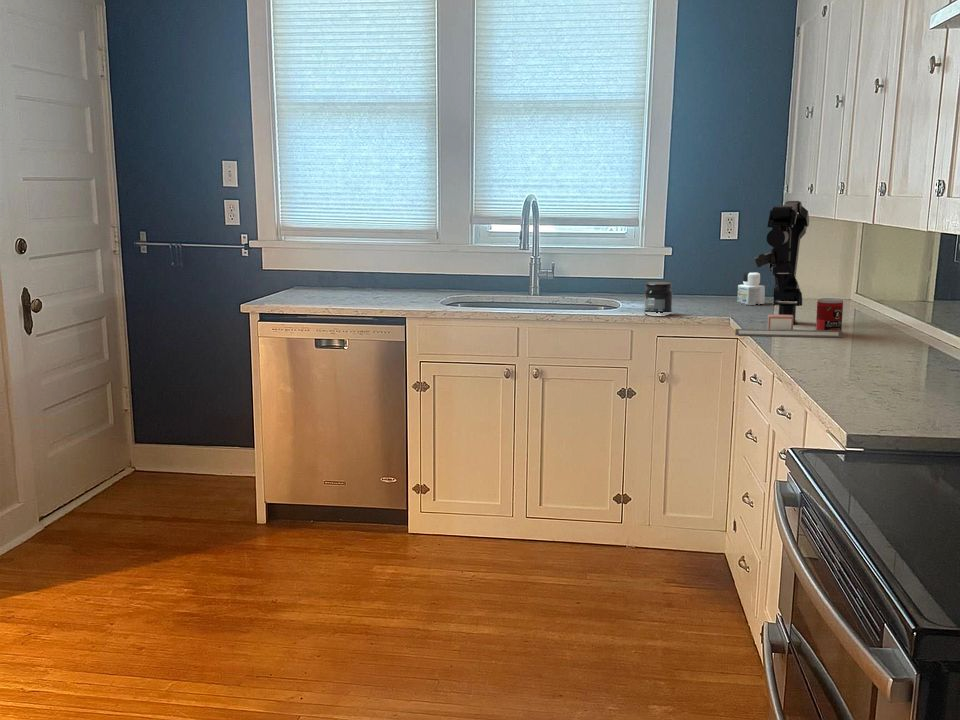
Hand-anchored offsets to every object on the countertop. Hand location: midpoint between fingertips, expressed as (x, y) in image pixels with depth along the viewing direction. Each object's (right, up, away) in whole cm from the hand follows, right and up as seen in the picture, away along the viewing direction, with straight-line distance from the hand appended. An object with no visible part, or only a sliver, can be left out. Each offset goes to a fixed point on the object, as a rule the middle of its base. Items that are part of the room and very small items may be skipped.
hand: (779, 292), depth 294 cm
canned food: (+13, -14, -9) cm, 21 cm away
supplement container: (-32, -6, +41) cm, 53 cm away
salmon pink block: (-2, -14, -7) cm, 16 cm away
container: (+11, 0, +66) cm, 67 cm away
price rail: (-2, -15, -12) cm, 19 cm away
